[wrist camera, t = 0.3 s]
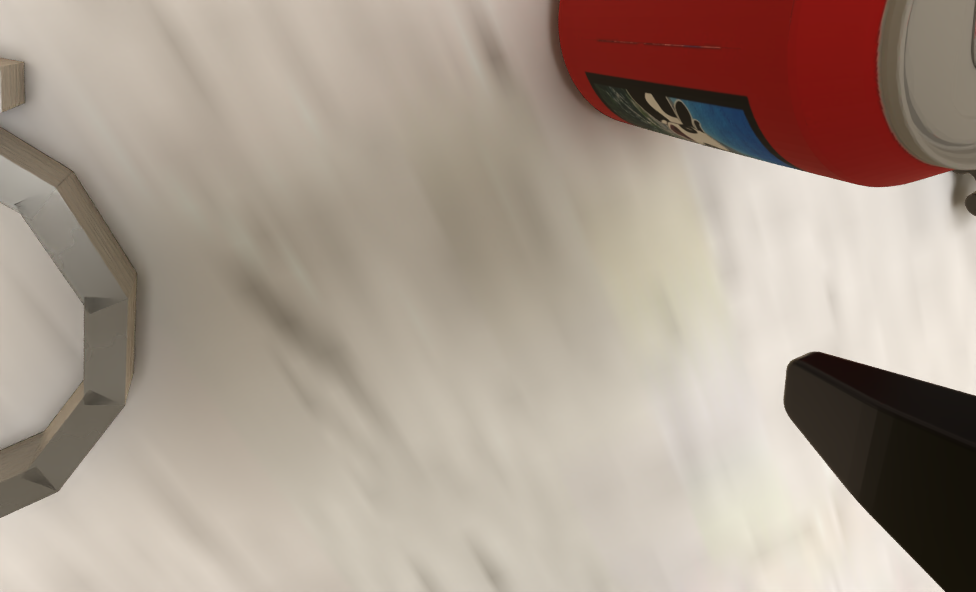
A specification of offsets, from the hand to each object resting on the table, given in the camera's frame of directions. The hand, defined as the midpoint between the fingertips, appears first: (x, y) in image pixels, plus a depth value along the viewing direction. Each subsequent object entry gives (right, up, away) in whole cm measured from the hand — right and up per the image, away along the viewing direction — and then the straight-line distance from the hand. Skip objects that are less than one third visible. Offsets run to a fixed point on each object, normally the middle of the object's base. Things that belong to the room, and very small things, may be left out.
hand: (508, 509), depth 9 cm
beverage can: (+5, +12, +13) cm, 18 cm away
